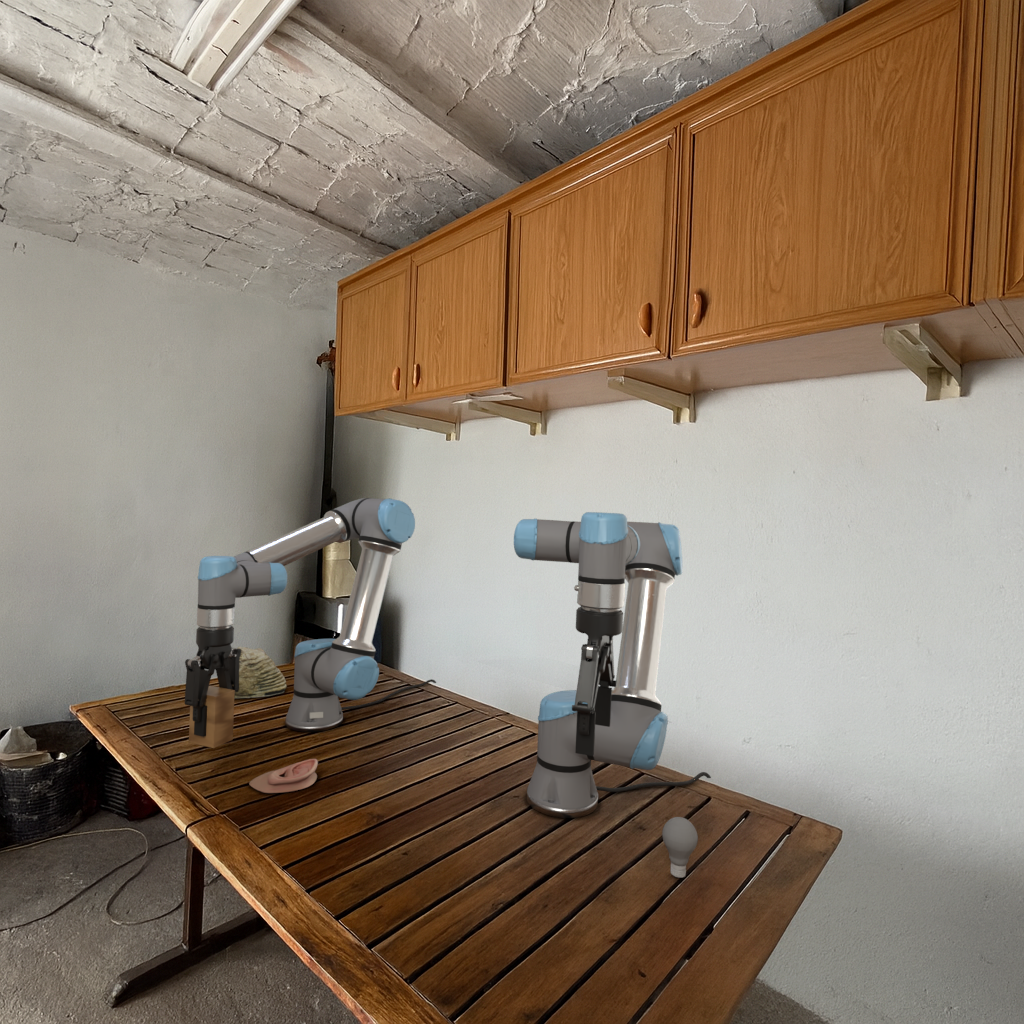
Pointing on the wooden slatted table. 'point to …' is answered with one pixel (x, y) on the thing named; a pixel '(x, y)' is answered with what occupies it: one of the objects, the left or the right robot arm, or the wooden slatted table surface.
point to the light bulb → (679, 843)
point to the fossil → (258, 675)
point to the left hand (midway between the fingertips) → (211, 730)
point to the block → (216, 718)
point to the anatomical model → (287, 778)
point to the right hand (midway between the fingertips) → (593, 738)
